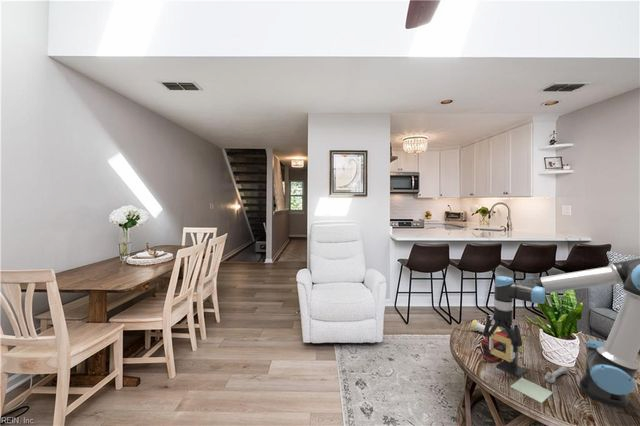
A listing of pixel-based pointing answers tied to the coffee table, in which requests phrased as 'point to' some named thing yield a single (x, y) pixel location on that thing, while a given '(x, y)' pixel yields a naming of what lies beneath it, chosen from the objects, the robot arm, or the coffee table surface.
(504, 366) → the stand
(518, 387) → the mat
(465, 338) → the coffee table surface
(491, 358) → the toy gun
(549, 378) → the grey bone
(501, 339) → the c link
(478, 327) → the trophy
